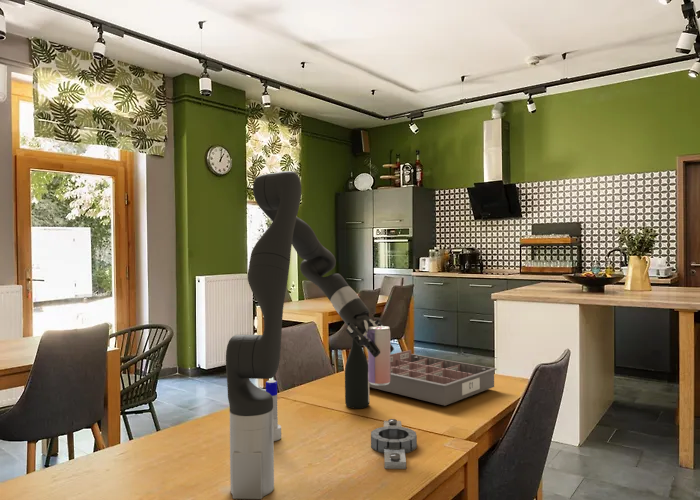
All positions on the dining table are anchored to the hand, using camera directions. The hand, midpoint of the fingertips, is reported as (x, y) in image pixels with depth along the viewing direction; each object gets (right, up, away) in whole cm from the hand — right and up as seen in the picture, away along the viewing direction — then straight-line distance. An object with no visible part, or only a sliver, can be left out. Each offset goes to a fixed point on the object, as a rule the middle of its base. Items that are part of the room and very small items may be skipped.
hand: (384, 353), depth 139 cm
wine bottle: (-7, -24, +32) cm, 40 cm away
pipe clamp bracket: (+2, -24, -3) cm, 24 cm away
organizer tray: (+18, -24, +51) cm, 59 cm away
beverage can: (-1, -8, +1) cm, 9 cm away
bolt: (-31, -24, +3) cm, 39 cm away
